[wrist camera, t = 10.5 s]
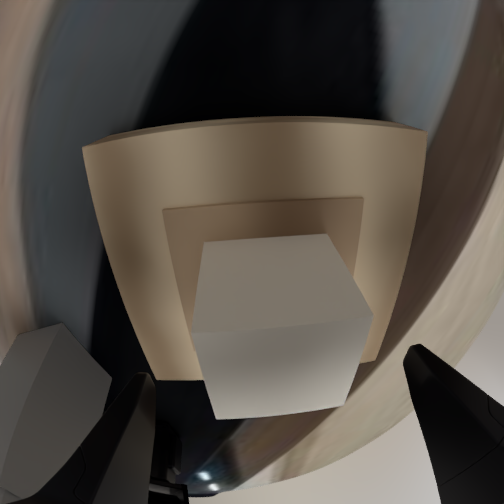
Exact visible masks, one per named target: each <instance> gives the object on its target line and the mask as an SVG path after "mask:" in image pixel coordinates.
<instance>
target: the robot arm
mask: <svg viewBox="0 0 504 504" xmlns="http://www.w3.org/2000/svg"><path fill="white" fill-rule="evenodd" d="M403 367H404V371H405V374H406V378H407V383H408V387H409V391H410V395H411V399H412V403H413V406H414V409H415V412H416V414H417V417H418V420H419V424H420V427H421V430H422V433H423V436H424V439H425V442H426V446H427V450H428V453H429V456H430V460H431V463H432V467H433V471H434V475H435V478H436V483H437V486H438V492H439V496H440V500H441V504H504V406H502V405H501V404H500V403H498V402H497V401H495V400H494V399H493V398H492V397H490V396H489V395H487V394H486V393H485V392H484V391H482V390H481V389H480V388H479V387H477V386H476V385H475V384H473V383H472V382H471V381H469V380H468V379H467V378H466V377H464V376H463V375H462V374H460V373H459V372H458V371H456V370H455V369H454V368H452V367H451V366H450V365H448V364H447V363H446V362H444V361H443V360H442V359H440V358H439V357H438V356H436V355H435V354H434V353H432V352H431V351H430V350H428V349H427V348H426V347H424V346H423V345H421V344H416V345H412V346H410V347H409V349H408V351H407V354H406V356H405V358H404V360H403ZM155 408H156V388H155V385H154V383H153V381H152V379H151V377H150V375H149V374H148V373H141V372H138V373H136V374H135V375H134V376H133V377H132V378H131V380H130V381H129V382H128V383H127V385H126V386H125V387H124V389H123V390H122V391H121V392H120V394H119V395H118V396H117V397H116V399H115V400H114V401H113V403H112V404H111V405H110V406H109V408H108V409H107V410H106V412H105V413H104V414H103V415H102V417H101V418H100V419H99V421H98V422H97V423H96V424H95V426H94V427H93V428H92V430H91V431H90V432H89V434H88V435H87V436H86V437H85V439H84V440H83V441H82V443H81V444H80V446H79V447H78V448H77V449H76V450H75V452H74V453H73V454H72V456H71V457H70V458H69V459H68V460H67V462H66V463H65V464H64V465H63V466H62V467H61V468H60V469H59V471H58V472H57V473H56V474H55V475H54V476H53V477H52V478H51V479H50V480H49V481H48V482H47V483H46V484H45V485H44V486H43V487H42V488H41V489H40V490H39V491H38V492H36V493H35V494H33V495H32V496H30V497H28V498H24V499H21V500H18V501H14V502H10V503H6V504H189V498H188V490H187V485H185V484H181V485H180V484H175V474H178V475H179V474H180V472H181V453H182V443H181V441H180V440H179V438H178V437H177V435H176V434H175V433H174V432H173V430H172V428H171V427H170V425H169V424H168V423H165V422H155Z"/></svg>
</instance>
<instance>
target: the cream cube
mask: <svg viewBox="0 0 504 504" xmlns="http://www.w3.org/2000/svg"><path fill="white" fill-rule="evenodd" d="M373 317H374V315H373V313H372V311H371V309H370V307H369V305H368V304H367V302H366V300H365V298H364V296H363V295H362V293H361V291H360V289H359V287H358V286H357V284H356V282H355V280H354V279H353V277H352V275H351V273H350V272H349V270H348V268H347V266H346V265H345V263H344V261H343V260H342V258H341V256H340V255H339V253H338V251H337V250H336V248H335V246H334V245H333V243H332V241H331V240H330V238H329V236H328V235H327V234H313V235H297V236H282V237H267V238H253V239H239V240H225V241H211V242H204V245H203V251H202V258H201V264H200V271H199V277H198V284H197V291H196V298H195V305H194V313H193V321H192V328H191V335H192V339H193V343H194V346H195V350H196V354H197V357H198V361H199V364H200V368H201V371H202V375H203V378H204V382H205V385H206V388H207V391H208V395H209V398H210V401H211V404H212V407H213V411H214V414H215V417H216V419H237V418H253V417H265V416H276V415H285V414H293V413H301V412H308V411H314V410H321V409H326V408H332V407H338V406H343V405H344V403H345V400H346V398H347V395H348V392H349V390H350V387H351V384H352V382H353V379H354V376H355V373H356V370H357V368H358V365H359V362H360V359H361V356H362V353H363V350H364V347H365V343H366V340H367V337H368V334H369V330H370V327H371V324H372V320H373Z"/></svg>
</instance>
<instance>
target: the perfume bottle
mask: <svg viewBox="0 0 504 504" xmlns="http://www.w3.org/2000/svg"><path fill="white" fill-rule="evenodd" d="M111 381H112V377H111V376H110V375H109V374H108V373H107V372H106V371H105V370H104V369H103V368H102V367H101V366H100V365H99V364H98V363H97V362H96V361H95V360H94V359H93V358H92V356H91V355H90V354H89V353H88V352H87V351H86V350H85V349H84V348H83V346H82V345H81V344H80V343H79V342H78V341H77V339H76V338H75V337H74V336H73V335H72V333H71V332H70V331H69V330H68V329H67V327H66V326H65V325H64V324H63V323H59V324H56V325H52V326H48V327H45V328H41V329H37V330H34V331H30V332H26V333H23V334H19V335H18V336H17V337H16V339H15V341H14V342H13V344H12V346H11V348H10V349H9V351H8V353H7V355H6V357H5V358H4V360H3V362H2V364H1V366H0V504H6V503H10V502H14V501H18V500H21V499H24V498H28V497H30V496H32V495H33V494H35V493H36V492H38V491H39V490H40V489H41V488H42V487H43V486H44V485H45V484H46V483H47V482H48V481H49V480H50V479H51V478H52V477H53V476H54V475H55V474H56V473H57V472H58V471H59V469H60V468H61V467H62V466H63V465H64V464H65V463H66V462H67V460H68V459H69V458H70V457H71V456H72V454H73V453H74V452H75V450H76V449H77V448H78V447H79V446H80V444H81V443H82V441H83V440H84V439H85V437H86V436H87V435H88V434H89V432H90V431H91V430H92V428H93V427H94V426H95V424H96V423H97V422H98V421H99V419H100V418H101V417H102V414H103V410H104V406H105V402H106V398H107V395H108V391H109V388H110V384H111Z"/></svg>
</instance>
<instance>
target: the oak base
mask: <svg viewBox="0 0 504 504" xmlns="http://www.w3.org/2000/svg"><path fill="white" fill-rule="evenodd" d="M427 134H428V132H427V131H424V130H421V129H417V128H414V127H411V126H407V125H404V124H400V123H396V122H390V121H381V120H370V119H358V118H342V117H316V116H273V117H247V118H230V119H218V120H207V121H197V122H188V123H180V124H172V125H165V126H158V127H152V128H146V129H140V130H134V131H129V132H124V133H119V134H114V135H109V136H107V137H105V138H102V139H100V140H98V141H95V142H93V143H91V144H88V145H86V146H84V147H82V151H83V156H84V162H85V167H86V172H87V177H88V182H89V186H90V191H91V195H92V200H93V204H94V208H95V212H96V216H97V220H98V223H99V227H100V231H101V234H102V238H103V241H104V245H105V248H106V251H107V255H108V258H109V261H110V264H111V267H112V270H113V273H114V276H115V279H116V282H117V285H118V288H119V291H120V294H121V296H122V299H123V302H124V305H125V307H126V310H127V313H128V315H129V318H130V320H131V323H132V325H133V328H134V330H135V333H136V335H137V337H138V340H139V342H140V344H141V347H142V349H143V351H144V354H145V356H146V358H147V360H148V362H149V365H150V367H151V369H152V371H153V373H154V375H155V377H156V379H157V380H204V378H203V375H202V371H201V368H200V364H199V361H198V357H197V354H196V350H195V346H194V343H193V339H192V335H191V328H192V321H193V313H194V305H195V298H196V291H197V284H198V277H199V271H200V264H201V258H202V251H203V245H204V242H211V241H225V240H239V239H253V238H267V237H282V236H297V235H313V234H327V235H328V236H329V238H330V240H331V241H332V243H333V245H334V246H335V248H336V250H337V251H338V253H339V255H340V256H341V258H342V260H343V261H344V263H345V265H346V266H347V268H348V270H349V272H350V273H351V275H352V277H353V279H354V280H355V282H356V284H357V286H358V287H359V289H360V291H361V293H362V295H363V296H364V298H365V300H366V302H367V304H368V305H369V307H370V309H371V311H372V313H373V315H374V317H373V320H372V324H371V327H370V330H369V334H368V337H367V340H366V343H365V347H364V350H363V353H362V356H361V359H360V362H359V363H364V362H369V361H374V360H376V357H377V354H378V352H379V349H380V346H381V344H382V341H383V338H384V335H385V332H386V330H387V327H388V324H389V321H390V318H391V315H392V311H393V308H394V305H395V302H396V299H397V295H398V292H399V288H400V285H401V281H402V277H403V274H404V270H405V266H406V262H407V258H408V254H409V250H410V245H411V241H412V236H413V232H414V227H415V222H416V217H417V211H418V206H419V200H420V194H421V187H422V180H423V173H424V165H425V156H426V146H427Z"/></svg>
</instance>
